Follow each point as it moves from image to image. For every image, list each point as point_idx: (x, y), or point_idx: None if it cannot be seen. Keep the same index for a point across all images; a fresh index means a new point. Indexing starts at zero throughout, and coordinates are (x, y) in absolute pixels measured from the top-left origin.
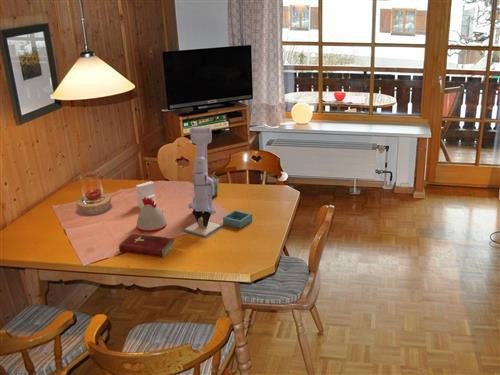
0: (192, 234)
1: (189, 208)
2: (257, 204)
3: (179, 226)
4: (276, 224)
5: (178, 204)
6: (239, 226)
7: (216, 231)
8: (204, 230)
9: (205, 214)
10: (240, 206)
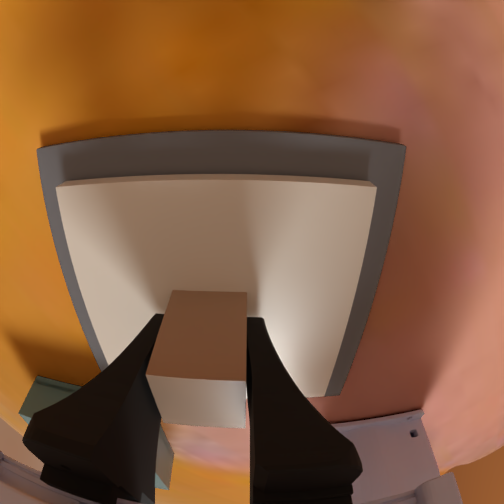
0: (218, 135)
1: (437, 477)
2: (195, 499)
3: (455, 248)
4: (20, 424)
5: (491, 407)
6: (35, 390)
7: (80, 310)
8: (132, 262)
9: (29, 445)
10: (236, 491)
